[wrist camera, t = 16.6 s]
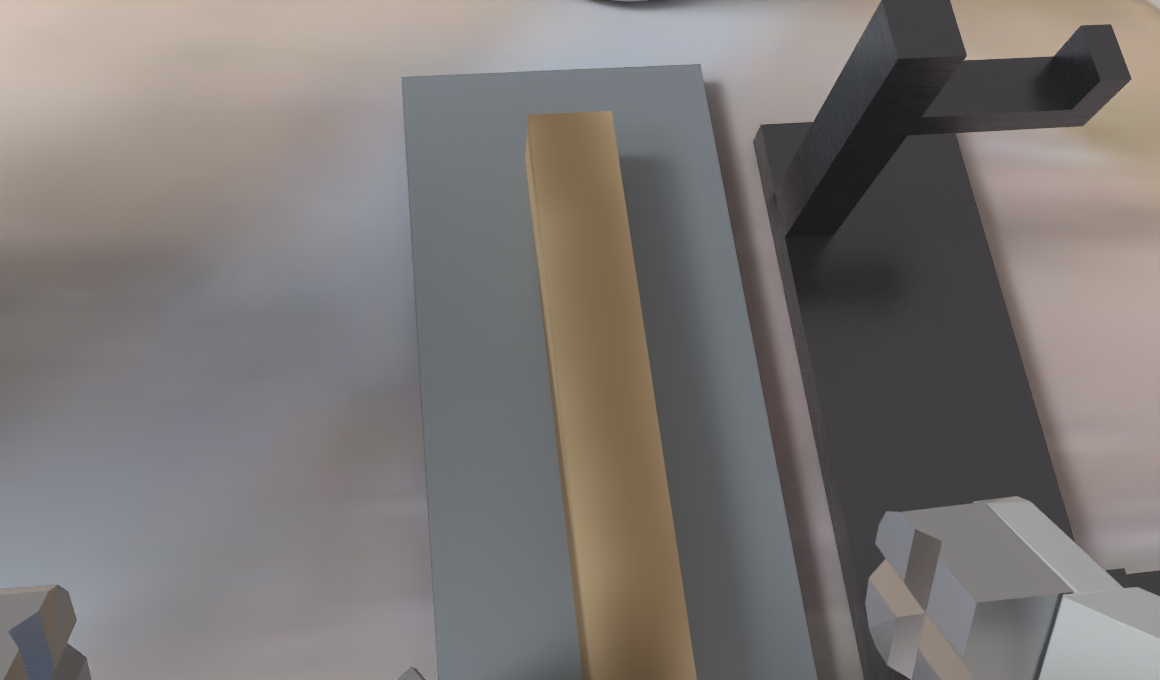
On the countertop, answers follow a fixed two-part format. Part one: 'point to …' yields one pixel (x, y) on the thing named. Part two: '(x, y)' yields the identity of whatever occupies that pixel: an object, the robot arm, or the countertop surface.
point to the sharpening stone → (411, 675)
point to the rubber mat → (522, 387)
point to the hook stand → (915, 278)
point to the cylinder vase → (629, 0)
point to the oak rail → (604, 407)
